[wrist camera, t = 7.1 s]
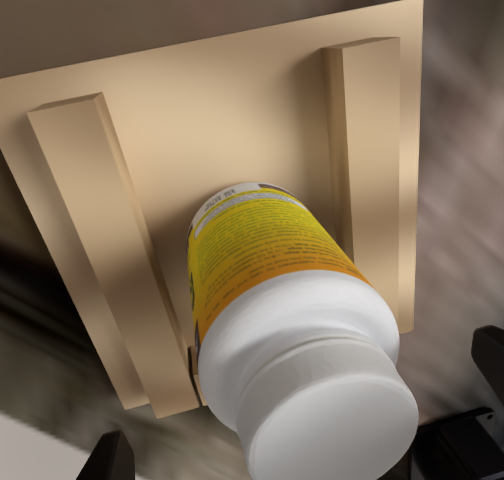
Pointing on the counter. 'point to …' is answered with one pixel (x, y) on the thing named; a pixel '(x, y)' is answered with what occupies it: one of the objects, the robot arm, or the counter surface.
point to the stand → (216, 169)
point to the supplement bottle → (294, 342)
